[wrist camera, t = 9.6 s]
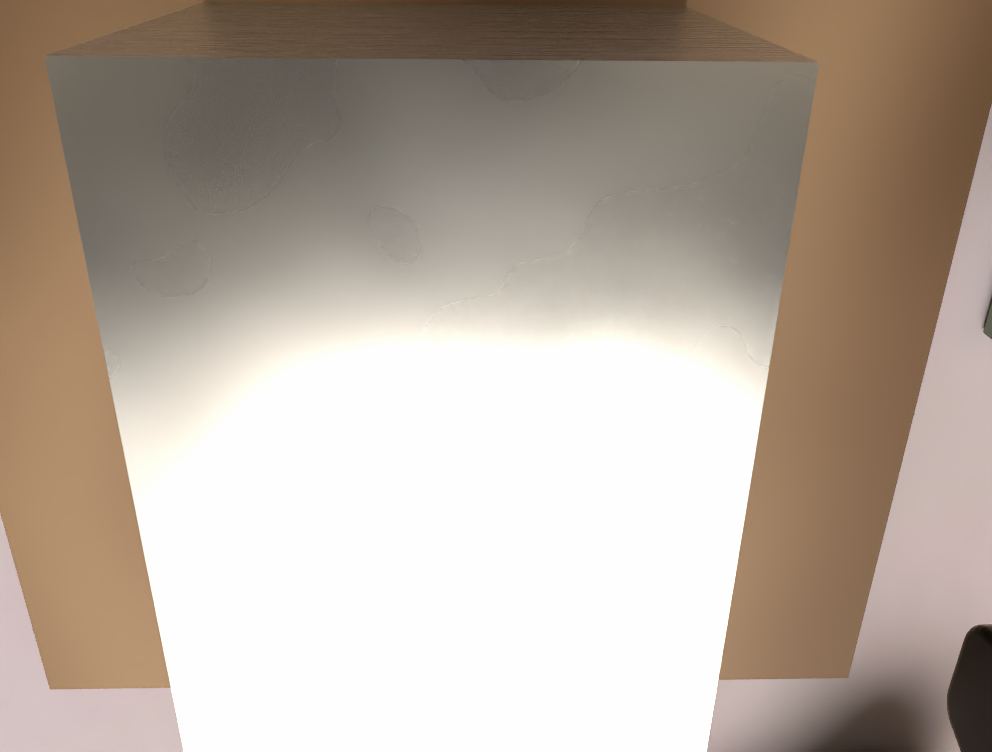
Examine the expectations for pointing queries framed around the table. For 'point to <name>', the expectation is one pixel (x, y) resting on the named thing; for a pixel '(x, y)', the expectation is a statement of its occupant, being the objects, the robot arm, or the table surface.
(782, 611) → the plate
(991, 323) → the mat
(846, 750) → the table surface
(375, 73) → the stone-textured block
